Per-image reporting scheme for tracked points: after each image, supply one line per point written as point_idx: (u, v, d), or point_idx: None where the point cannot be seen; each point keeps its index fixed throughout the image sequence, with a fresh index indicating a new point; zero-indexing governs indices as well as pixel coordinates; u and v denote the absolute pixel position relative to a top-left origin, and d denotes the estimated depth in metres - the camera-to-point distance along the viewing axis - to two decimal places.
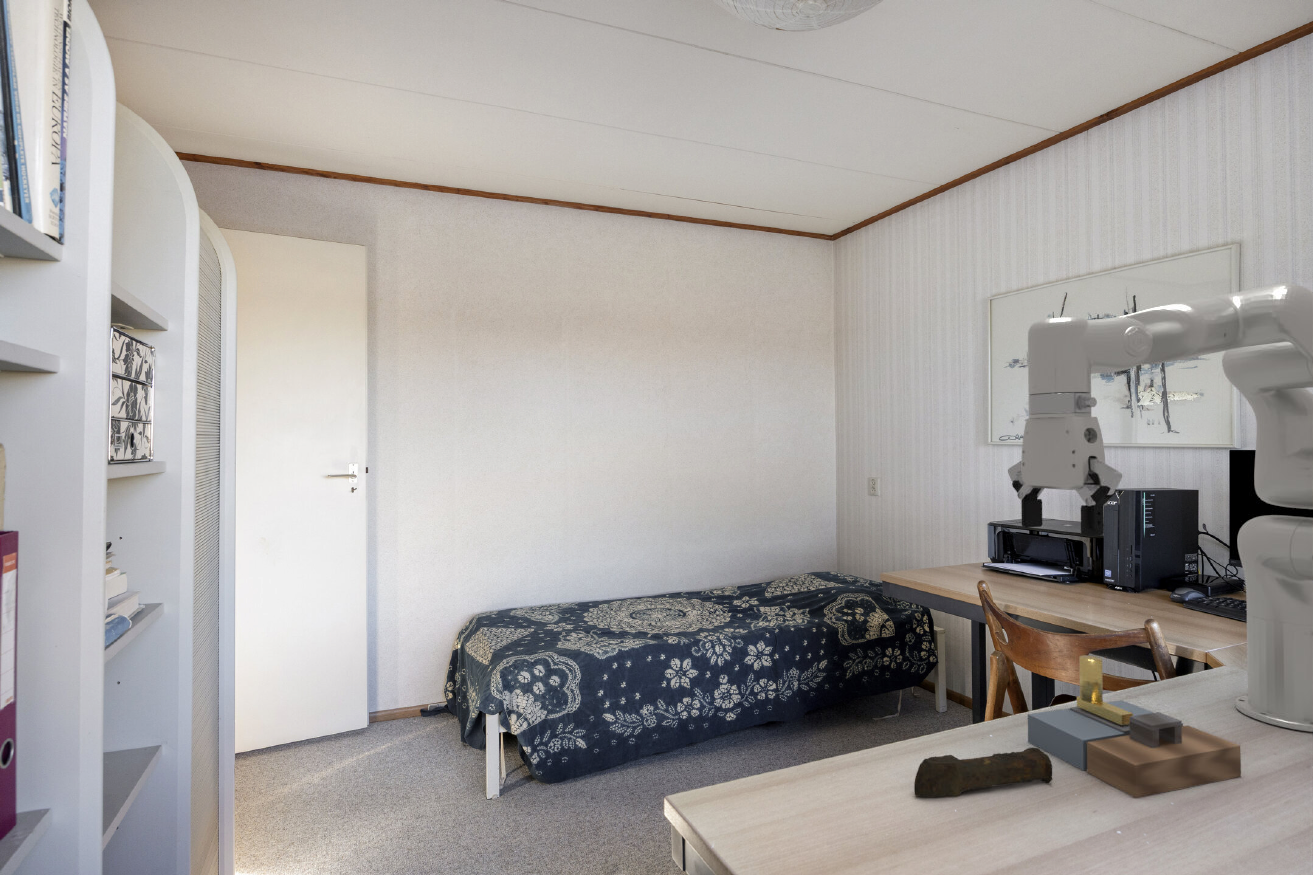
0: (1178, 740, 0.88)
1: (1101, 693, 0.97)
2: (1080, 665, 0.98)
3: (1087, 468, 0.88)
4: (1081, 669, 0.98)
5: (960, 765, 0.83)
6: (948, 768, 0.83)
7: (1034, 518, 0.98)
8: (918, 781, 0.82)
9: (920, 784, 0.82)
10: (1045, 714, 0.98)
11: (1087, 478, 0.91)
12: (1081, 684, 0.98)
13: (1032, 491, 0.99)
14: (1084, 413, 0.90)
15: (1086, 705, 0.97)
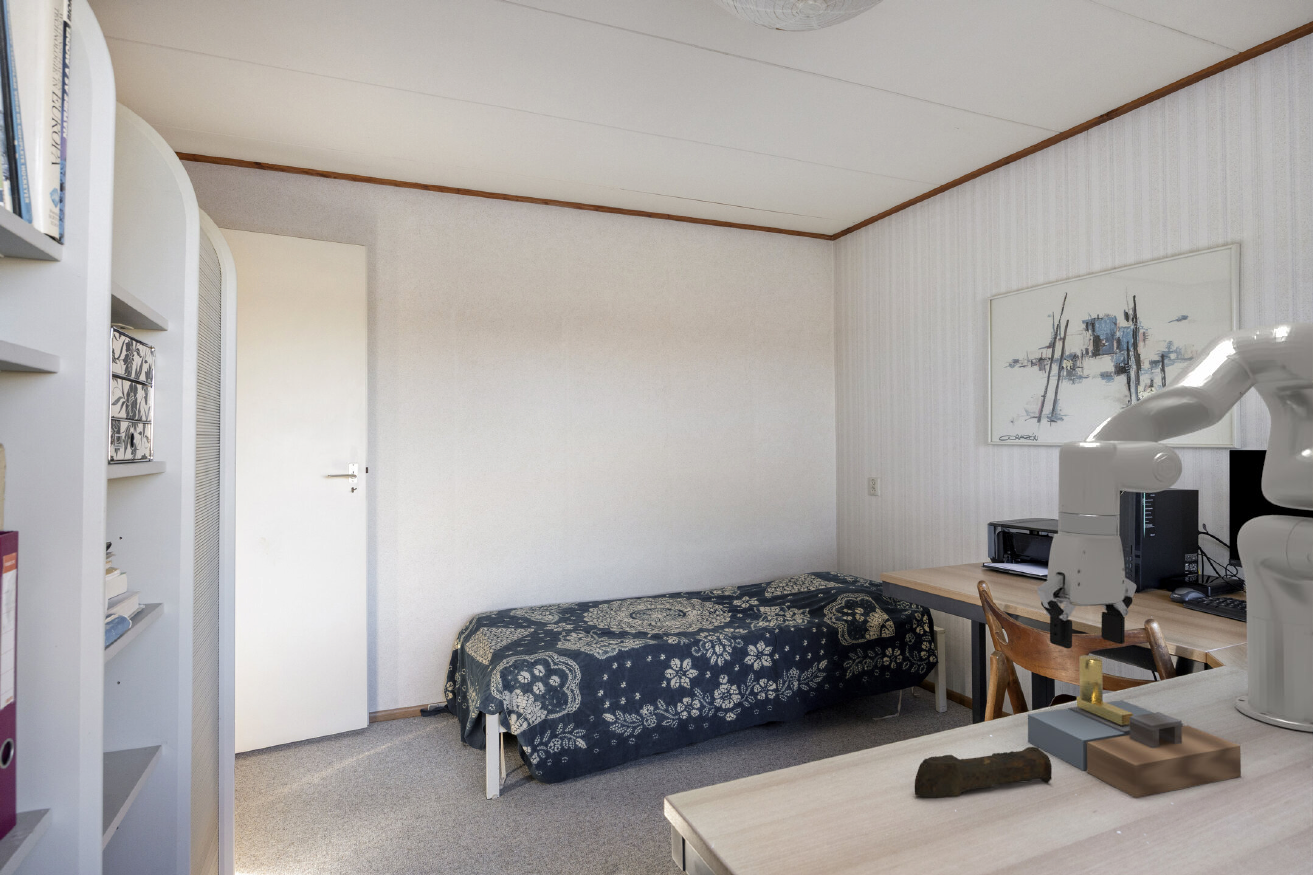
0: (1178, 740, 0.88)
1: (1101, 693, 0.97)
2: (1080, 665, 0.98)
3: None
4: (1081, 669, 0.98)
5: (960, 765, 0.83)
6: (948, 768, 0.83)
7: None
8: (918, 781, 0.82)
9: (920, 784, 0.82)
10: (1045, 714, 0.98)
11: None
12: (1081, 684, 0.98)
13: None
14: None
15: (1086, 705, 0.97)
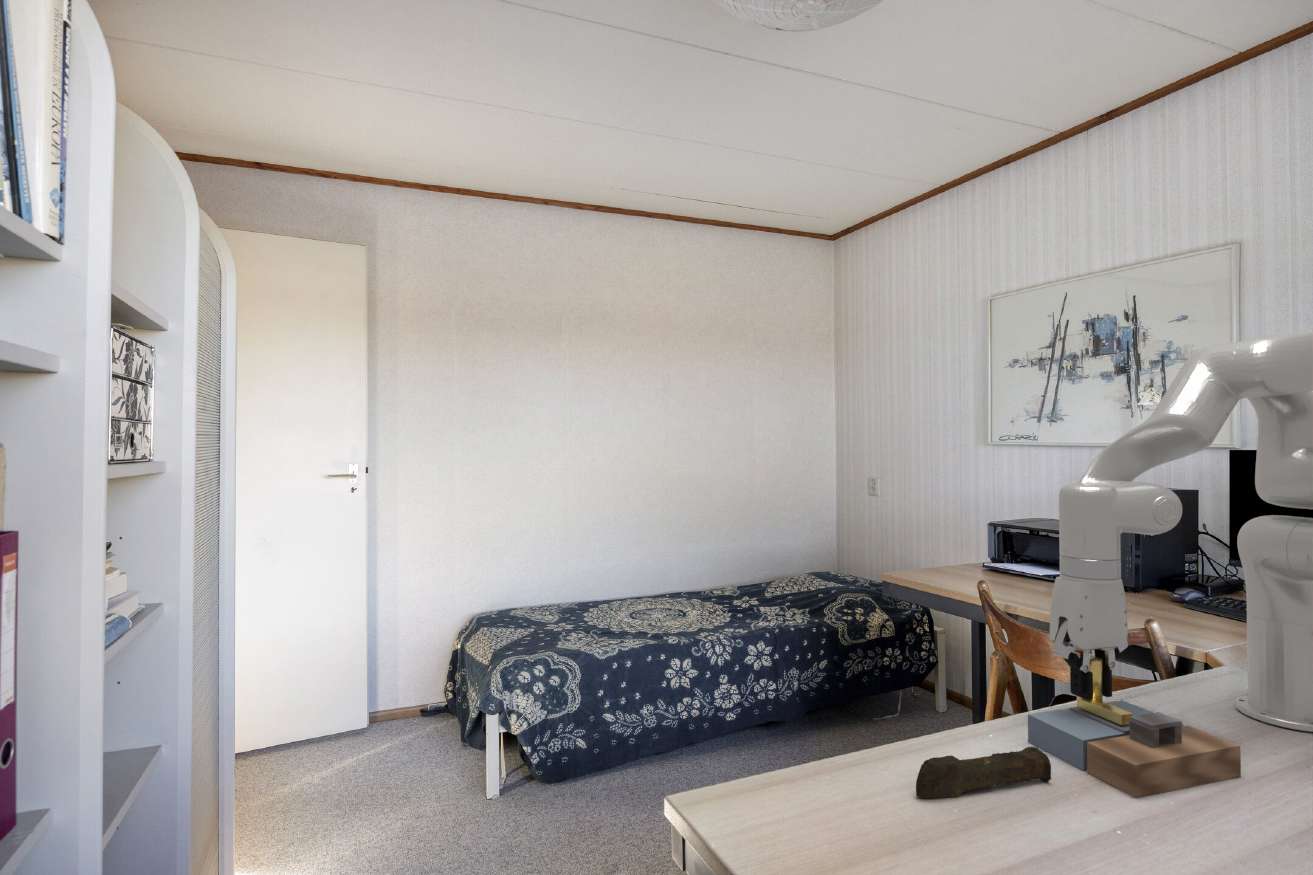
0: (1178, 740, 0.88)
1: (1101, 693, 0.97)
2: None
3: None
4: None
5: (961, 766, 0.83)
6: (949, 769, 0.82)
7: None
8: (920, 782, 0.82)
9: (922, 786, 0.82)
10: (1045, 714, 0.98)
11: None
12: None
13: None
14: None
15: (1086, 705, 0.97)
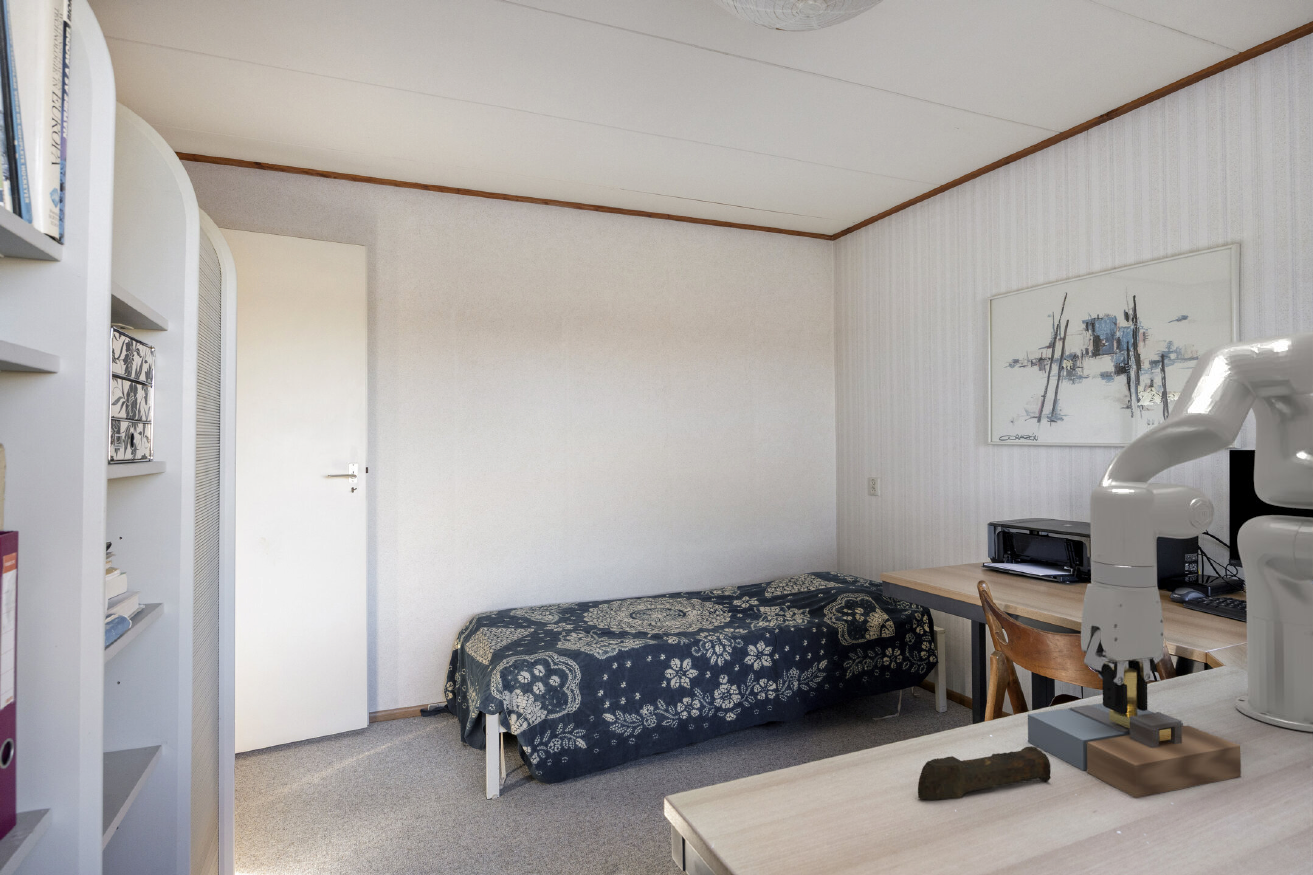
0: (1178, 740, 0.88)
1: (1136, 706, 0.92)
2: None
3: None
4: None
5: (963, 766, 0.83)
6: (951, 770, 0.82)
7: None
8: (922, 784, 0.82)
9: (924, 787, 0.82)
10: (1045, 714, 0.98)
11: None
12: None
13: None
14: None
15: (1120, 719, 0.93)
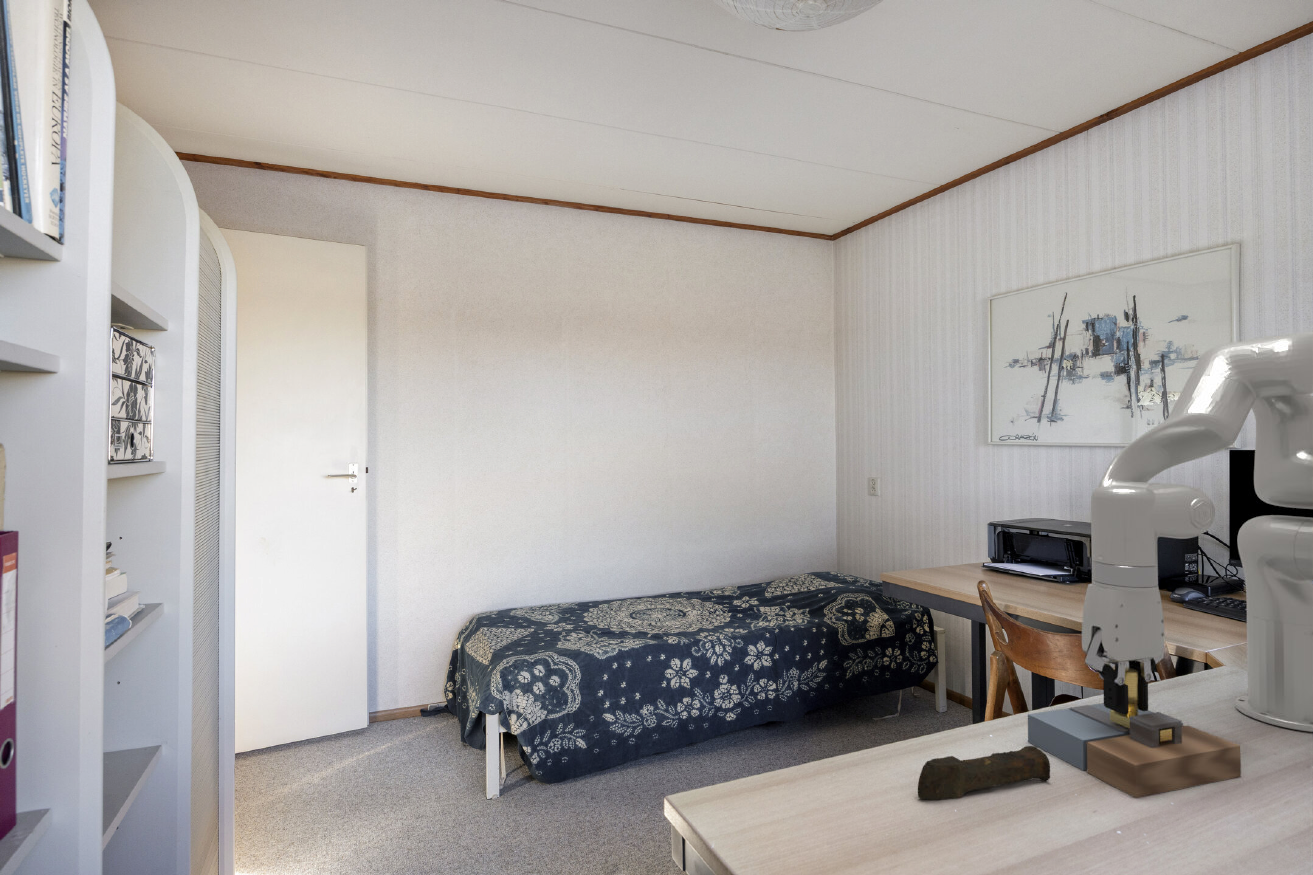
0: (1178, 740, 0.88)
1: (1137, 707, 0.92)
2: None
3: None
4: None
5: (962, 766, 0.83)
6: (951, 770, 0.82)
7: None
8: (922, 784, 0.82)
9: (924, 787, 0.82)
10: (1045, 714, 0.98)
11: None
12: None
13: None
14: None
15: (1121, 719, 0.92)
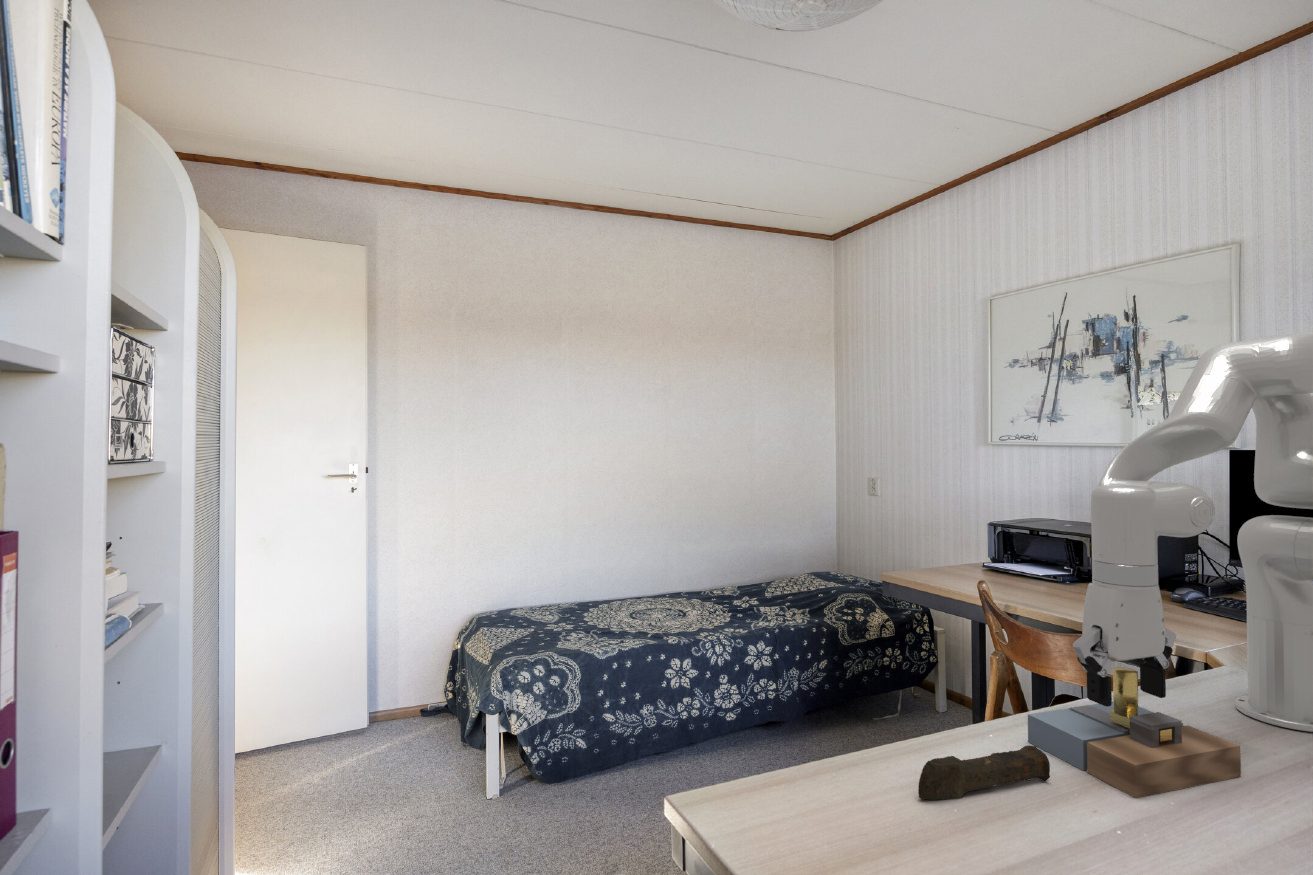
0: (1178, 740, 0.88)
1: (1137, 707, 0.92)
2: (1114, 677, 0.93)
3: None
4: (1115, 681, 0.93)
5: (963, 766, 0.83)
6: (951, 769, 0.82)
7: None
8: (922, 784, 0.82)
9: (924, 787, 0.82)
10: (1045, 714, 0.98)
11: None
12: (1115, 698, 0.93)
13: None
14: None
15: (1121, 719, 0.92)
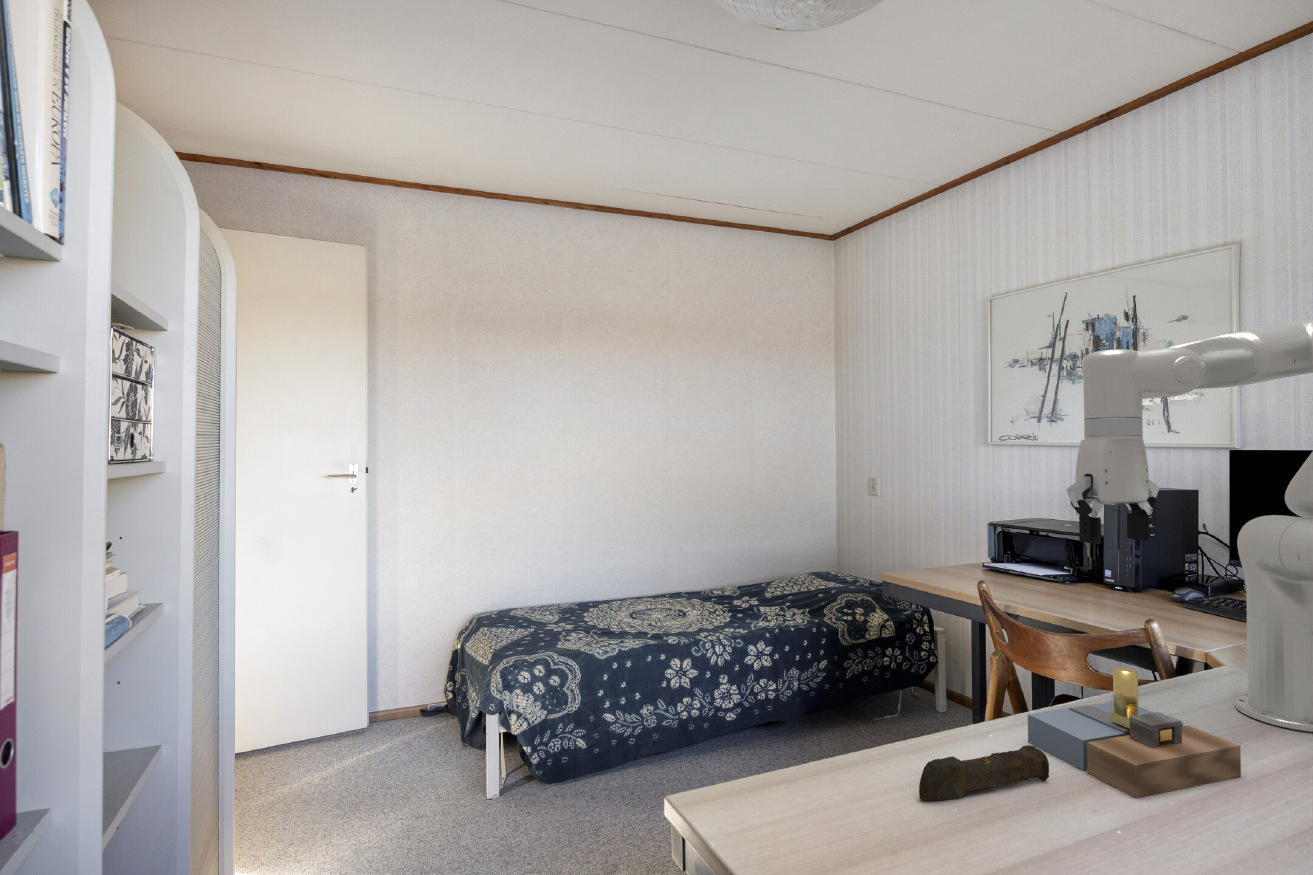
0: (1178, 740, 0.88)
1: (1137, 707, 0.92)
2: (1114, 677, 0.93)
3: None
4: (1115, 681, 0.93)
5: (963, 767, 0.82)
6: (952, 770, 0.82)
7: None
8: (923, 785, 0.82)
9: (925, 788, 0.82)
10: (1045, 714, 0.98)
11: None
12: (1115, 698, 0.93)
13: None
14: None
15: (1121, 719, 0.92)
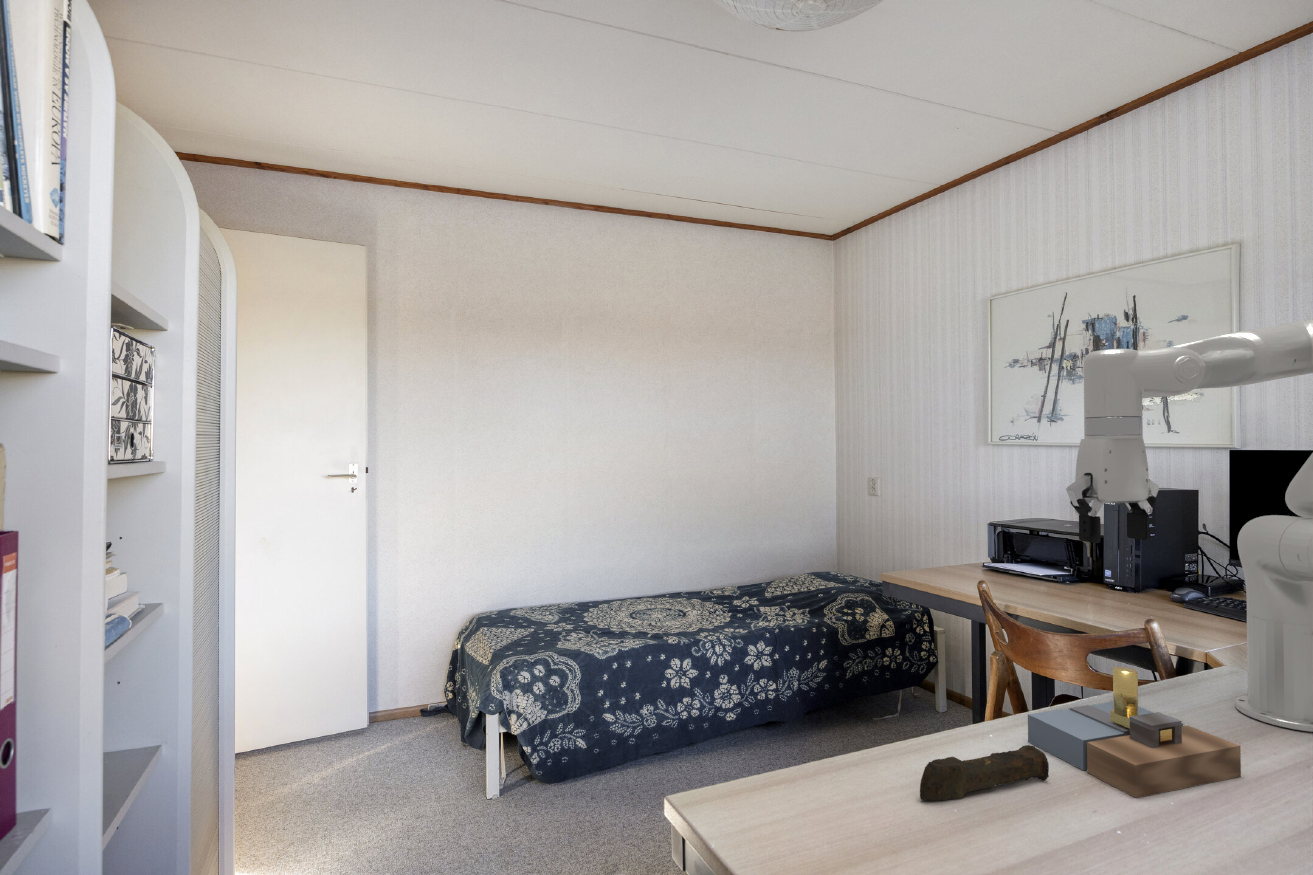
0: (1178, 740, 0.88)
1: (1137, 707, 0.92)
2: (1114, 677, 0.93)
3: None
4: (1115, 681, 0.93)
5: (964, 767, 0.82)
6: (952, 770, 0.82)
7: None
8: (924, 785, 0.81)
9: (926, 788, 0.81)
10: (1045, 714, 0.98)
11: None
12: (1115, 698, 0.93)
13: None
14: None
15: (1121, 719, 0.92)
